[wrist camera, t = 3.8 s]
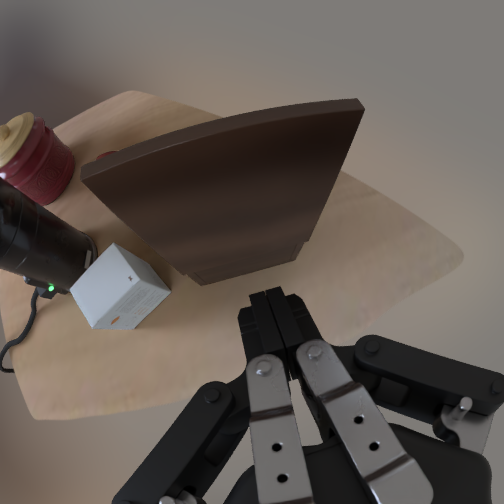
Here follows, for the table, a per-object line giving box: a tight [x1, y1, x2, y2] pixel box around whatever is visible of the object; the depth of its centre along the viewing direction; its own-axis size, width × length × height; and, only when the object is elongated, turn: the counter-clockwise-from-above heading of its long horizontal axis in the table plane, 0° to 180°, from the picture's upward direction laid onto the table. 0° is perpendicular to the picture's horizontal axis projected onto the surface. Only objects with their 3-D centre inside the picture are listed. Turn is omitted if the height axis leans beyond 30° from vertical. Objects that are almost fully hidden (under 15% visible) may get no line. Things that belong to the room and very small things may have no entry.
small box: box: [70, 243, 171, 329], centre depth 30 cm, size 8×6×10 cm
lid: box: [80, 98, 365, 275], centre depth 19 cm, size 18×13×1 cm
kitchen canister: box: [0, 112, 75, 206], centre depth 33 cm, size 13×13×18 cm
